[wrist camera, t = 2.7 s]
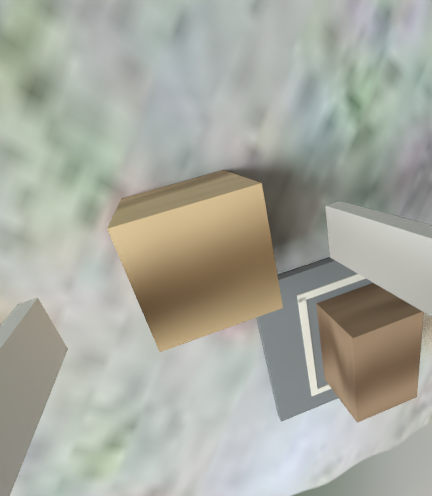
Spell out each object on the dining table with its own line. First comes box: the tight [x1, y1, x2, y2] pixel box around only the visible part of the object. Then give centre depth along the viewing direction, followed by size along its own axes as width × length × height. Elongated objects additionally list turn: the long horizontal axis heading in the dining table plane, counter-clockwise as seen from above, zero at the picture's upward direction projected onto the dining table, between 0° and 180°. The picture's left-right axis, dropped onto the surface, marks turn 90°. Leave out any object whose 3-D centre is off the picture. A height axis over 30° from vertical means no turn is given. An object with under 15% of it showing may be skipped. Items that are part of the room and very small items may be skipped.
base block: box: [316, 283, 424, 422], centre depth 20 cm, size 8×5×4 cm, turn 14°
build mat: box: [256, 258, 373, 421], centre depth 22 cm, size 14×14×1 cm
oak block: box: [107, 170, 283, 352], centre depth 14 cm, size 6×6×6 cm
